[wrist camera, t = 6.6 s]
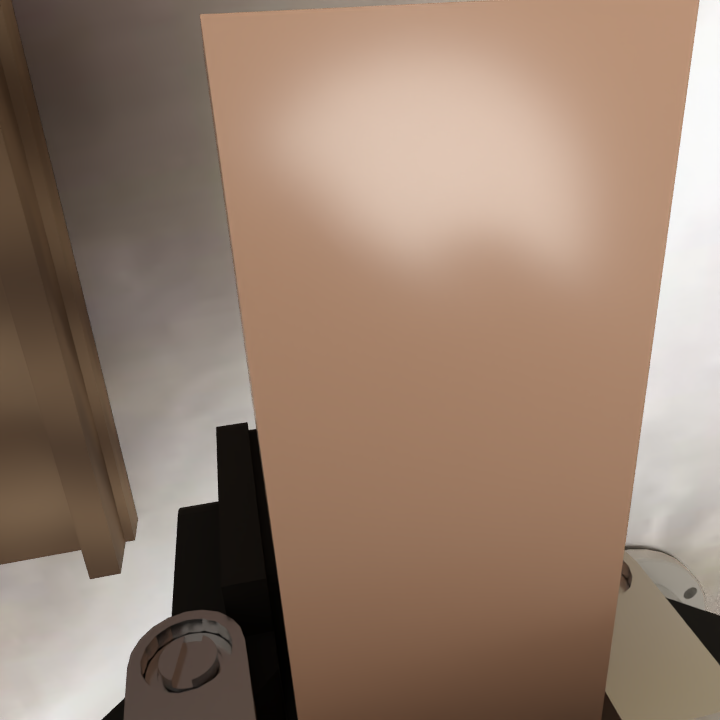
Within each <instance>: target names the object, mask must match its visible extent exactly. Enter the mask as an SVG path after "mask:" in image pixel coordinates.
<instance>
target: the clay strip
mask: <svg viewBox="0 0 720 720" xmlns="http://www.w3.org/2000/svg"><path fill="white" fill-rule="evenodd" d="M698 7H699V0H489V1H468V2H447V3H427V4H406V5H385V6H364V7H343V8H323V9H302V10H281V11H260V12H240V13H219V14H200V20H201V31H202V41H203V52H204V60H205V67H206V74H207V81H208V88H209V95H210V103H211V110H212V117H213V124H214V131H215V138H216V145H217V152H218V160H219V167H220V174H221V181H222V188H223V195H224V202H225V210H226V217H227V224H228V231H229V238H230V245H231V252H232V259H233V267H234V274H235V281H236V288H237V295H238V302H239V309H240V316H241V324H242V331H243V338H244V345H245V352H246V359H247V366H248V374H249V381H250V388H251V395H252V402H253V409H254V416H255V423H256V430H257V437H258V444H259V451H260V458H261V465H262V472H263V479H264V486H265V493H266V500H267V507H268V514H269V521H270V528H271V535H272V542H273V549H274V556H275V563H276V570H277V577H278V584H279V591H280V598H281V606H282V613H283V620H284V627H285V634H286V641H287V649H288V656H289V663H290V670H291V677H292V684H293V691H294V699H295V706H296V713H297V720H601V718H602V711H603V703H604V696H605V689H606V681H607V674H608V667H609V659H610V652H611V645H612V637H613V630H614V623H615V615H616V608H617V601H618V593H619V586H620V579H621V571H622V564H623V557H624V549H625V542H626V535H627V527H628V520H629V513H630V505H631V498H632V491H633V483H634V476H635V469H636V461H637V454H638V447H639V439H640V432H641V425H642V417H643V410H644V403H645V395H646V388H647V381H648V373H649V366H650V359H651V351H652V344H653V337H654V329H655V322H656V315H657V307H658V300H659V293H660V285H661V278H662V271H663V263H664V256H665V249H666V241H667V234H668V227H669V219H670V212H671V205H672V197H673V190H674V183H675V175H676V168H677V161H678V153H679V146H680V139H681V131H682V124H683V117H684V109H685V102H686V95H687V87H688V80H689V73H690V65H691V58H692V51H693V43H694V36H695V29H696V21H697V14H698Z"/></svg>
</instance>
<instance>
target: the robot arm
mask: <svg viewBox="0 0 720 720" xmlns="http://www.w3.org/2000/svg"><path fill="white" fill-rule="evenodd" d="M216 437H217V469H218V500H219V501H218V502H212V503H207V504H201V505H195V506H189V507H183V508H180V509H179V511H178V522H177V538H176V555H175V571H174V588H173V604H172V617H169V618H167V619H166V620H164V621H162V622H161V623H159V624H157V625H156V626H154V627H153V628H151V629H150V630H149V631H148V632H147V633H146V634H145V635H144V636H143V637H142V638H141V639H140V640H139V642H138V643H137V645H136V646H135V648H134V650H133V651H132V653H131V655H130V659H129V663H128V667H127V677H126V692H125V698H124V699H123V700H122V701H121V702H120V703H119V704H118V705H117V706H116V707H115V708H114V709H112V710H111V711H110V712H109V713H108V714H107V715H106V716H105V717H104V718H103V719H102V720H297V713H296V706H295V699H294V691H293V684H292V677H291V670H290V663H289V656H288V649H287V641H286V634H285V627H284V620H283V613H282V606H281V598H280V591H279V584H278V577H277V570H276V563H275V556H274V549H273V542H272V535H271V528H270V521H269V514H268V507H267V500H266V493H265V486H264V479H263V472H262V465H261V458H260V451H259V444H258V437H257V430H256V429H254V430H249V429H248V423H247V422H246V423H239V424H233V425H226V426H220V427H216ZM601 720H720V616H719V615H716V614H713V613H710V612H707V611H706V603H705V596H704V592H703V590H702V587H701V585H700V583H699V581H698V580H697V579H696V578H695V577H694V575H693V574H692V573H691V572H690V571H689V570H688V569H687V568H686V567H685V566H684V565H683V564H682V563H680V562H679V561H678V560H677V559H676V558H673V557H671V556H669V555H667V554H665V553H662V552H657V551H652V550H647V549H629V550H624V557H623V564H622V571H621V579H620V586H619V593H618V601H617V608H616V615H615V623H614V630H613V637H612V645H611V652H610V659H609V667H608V674H607V681H606V689H605V696H604V703H603V711H602V718H601Z"/></svg>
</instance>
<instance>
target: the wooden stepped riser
mask: <svg viewBox="0 0 720 720" xmlns="http://www.w3.org/2000/svg"><path fill="white" fill-rule="evenodd" d="M137 522H138V518H137V513H136V509H135V505H134V501H133V497H132V493H131V489H130V485H129V481H128V477H127V472H126V468H125V464H124V460H123V456H122V452H121V448H120V444H119V440H118V436H117V431H116V427H115V423H114V419H113V415H112V411H111V407H110V403H109V399H108V395H107V391H106V386H105V382H104V378H103V374H102V370H101V366H100V362H99V358H98V354H97V350H96V345H95V341H94V337H93V333H92V329H91V325H90V321H89V317H88V313H87V309H86V305H85V300H84V296H83V292H82V288H81V284H80V280H79V276H78V272H77V268H76V264H75V259H74V255H73V251H72V247H71V243H70V239H69V235H68V231H67V227H66V223H65V219H64V214H63V210H62V206H61V202H60V198H59V194H58V190H57V186H56V182H55V178H54V173H53V169H52V165H51V161H50V157H49V153H48V149H47V145H46V141H45V137H44V133H43V128H42V124H41V120H40V116H39V112H38V108H37V104H36V100H35V96H34V92H33V87H32V83H31V79H30V75H29V71H28V67H27V63H26V59H25V55H24V51H23V47H22V42H21V38H20V34H19V30H18V26H17V22H16V18H15V14H14V10H13V6H12V1H11V0H0V565H1V564H6V563H12V562H17V561H23V560H28V559H34V558H39V557H45V556H50V555H56V554H61V553H67V552H72V551H78V550H82V554H83V557H84V561H85V564H86V567H87V571H88V574H89V577H90V579H94V578H99V577H104V576H110V575H115V574H120V573H121V568H122V562H123V555H124V549H125V542H127V541H133V540H135V537H136V529H137Z"/></svg>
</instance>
